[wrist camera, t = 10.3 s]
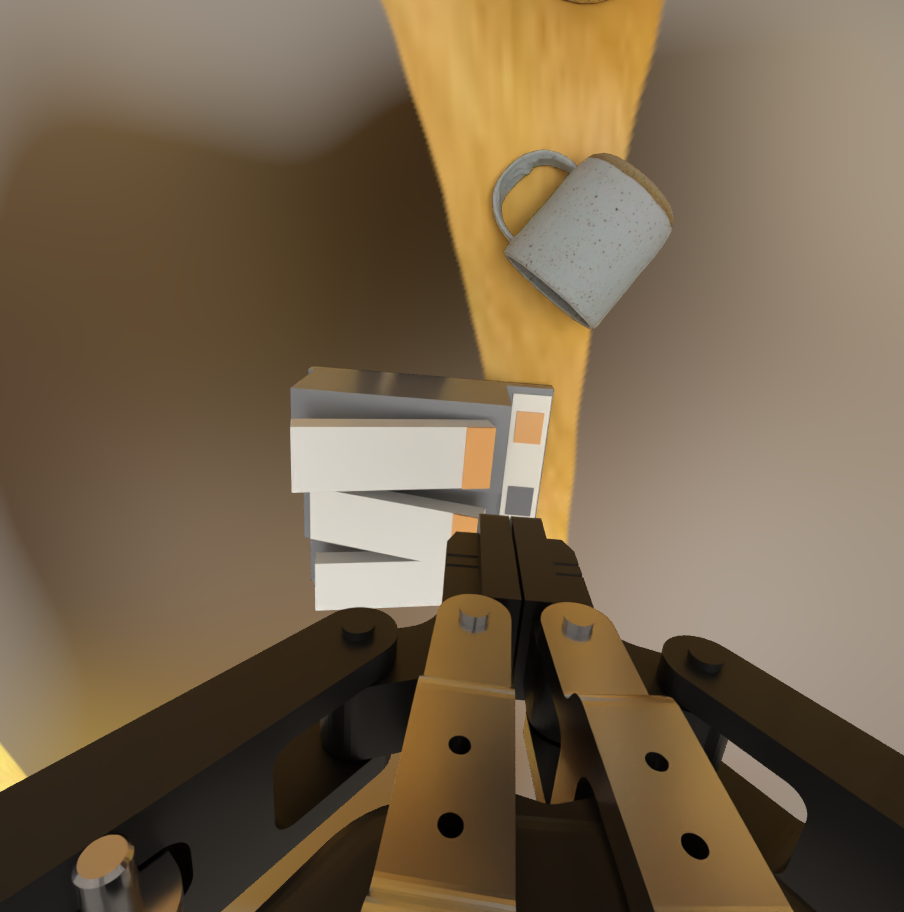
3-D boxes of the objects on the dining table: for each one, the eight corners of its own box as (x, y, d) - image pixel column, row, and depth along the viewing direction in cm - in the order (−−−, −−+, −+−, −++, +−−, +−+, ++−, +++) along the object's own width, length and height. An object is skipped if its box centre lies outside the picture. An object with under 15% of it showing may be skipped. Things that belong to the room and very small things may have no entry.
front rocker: (291, 418, 32) (290, 427, 30) (487, 419, 35) (496, 427, 33) (292, 481, 33) (291, 493, 32) (481, 477, 36) (489, 488, 35)
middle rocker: (320, 478, 39) (308, 487, 38) (485, 508, 37) (480, 519, 35) (321, 528, 41) (309, 539, 39) (480, 560, 38) (474, 573, 36)
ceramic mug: (661, 229, 37) (705, 220, 30) (579, 325, 40) (601, 339, 33) (542, 120, 36) (559, 84, 28) (464, 228, 38) (460, 220, 31)
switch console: (312, 365, 41) (276, 391, 34) (551, 385, 41) (570, 415, 34) (314, 572, 48) (284, 634, 40) (522, 590, 48) (532, 656, 40)
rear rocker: (316, 552, 41) (315, 564, 40) (472, 549, 44) (477, 560, 42) (316, 598, 43) (315, 611, 41) (468, 592, 45) (472, 605, 43)
